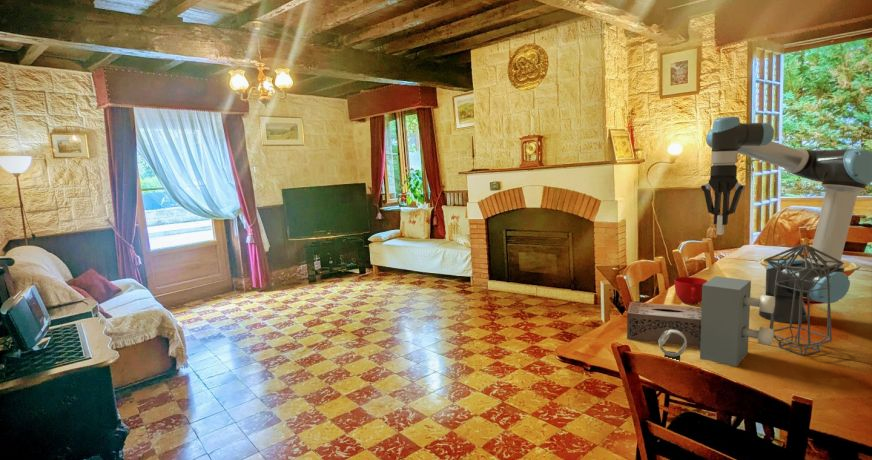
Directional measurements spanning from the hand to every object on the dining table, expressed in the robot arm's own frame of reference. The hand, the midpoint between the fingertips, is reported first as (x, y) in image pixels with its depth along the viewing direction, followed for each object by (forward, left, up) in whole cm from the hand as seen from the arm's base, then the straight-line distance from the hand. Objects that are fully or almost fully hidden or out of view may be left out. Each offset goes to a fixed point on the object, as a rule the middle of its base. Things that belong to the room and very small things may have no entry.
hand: (720, 234), depth 160 cm
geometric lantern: (-22, +3, -37) cm, 44 cm away
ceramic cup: (+6, -42, -37) cm, 56 cm away
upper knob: (-8, +18, -21) cm, 29 cm away
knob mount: (-1, +16, -37) cm, 40 cm away
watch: (+15, +28, -37) cm, 49 cm away
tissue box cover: (+16, +3, -38) cm, 41 cm away
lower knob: (-8, +18, -31) cm, 36 cm away
